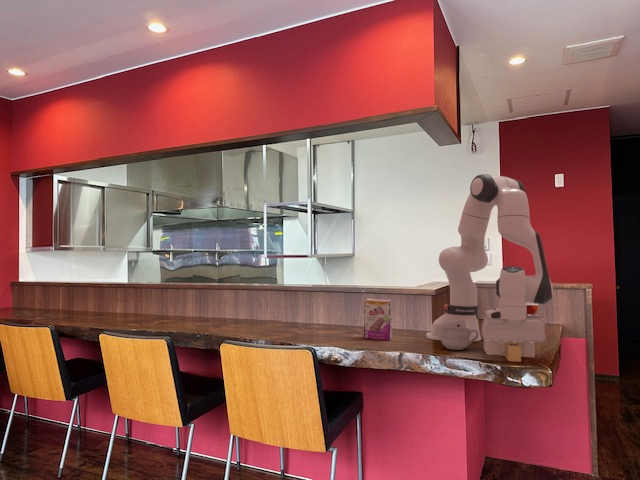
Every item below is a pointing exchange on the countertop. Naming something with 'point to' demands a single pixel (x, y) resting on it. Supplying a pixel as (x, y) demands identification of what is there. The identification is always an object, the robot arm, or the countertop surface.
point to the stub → (513, 351)
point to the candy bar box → (378, 319)
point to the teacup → (457, 337)
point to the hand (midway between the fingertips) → (512, 353)
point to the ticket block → (495, 349)
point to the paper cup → (532, 308)
